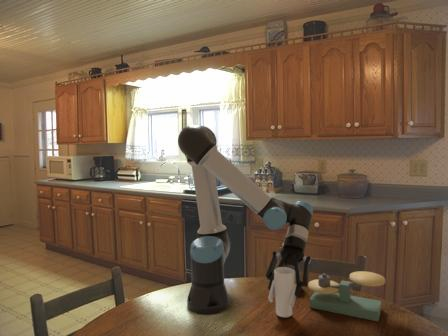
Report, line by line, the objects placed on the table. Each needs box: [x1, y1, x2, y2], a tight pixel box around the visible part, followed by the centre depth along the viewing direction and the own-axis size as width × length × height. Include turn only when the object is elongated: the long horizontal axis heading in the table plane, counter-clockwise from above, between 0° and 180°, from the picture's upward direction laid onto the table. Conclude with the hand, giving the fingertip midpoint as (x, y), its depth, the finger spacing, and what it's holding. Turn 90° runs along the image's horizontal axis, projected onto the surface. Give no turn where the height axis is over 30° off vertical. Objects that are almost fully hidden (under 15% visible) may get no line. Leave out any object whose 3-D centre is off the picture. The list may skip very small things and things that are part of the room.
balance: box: [307, 270, 386, 322], centre depth 121 cm, size 25×11×12 cm, turn 62°
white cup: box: [273, 266, 295, 318], centre depth 117 cm, size 7×7×15 cm
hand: (280, 302), depth 114 cm, fingers closed on white cup, 7 cm apart
